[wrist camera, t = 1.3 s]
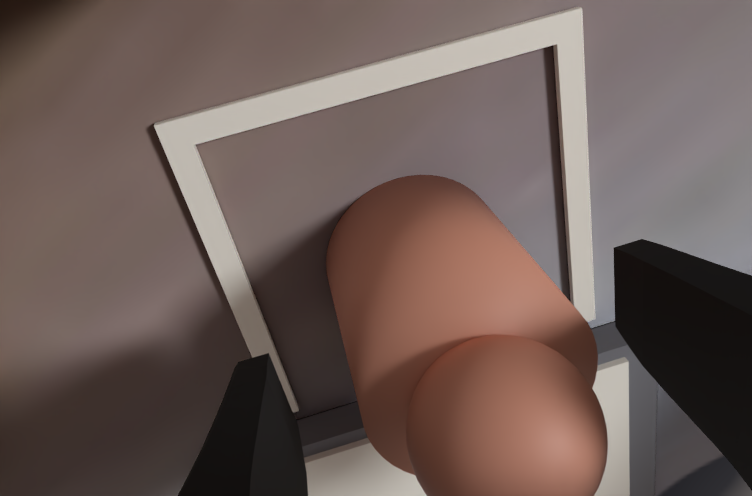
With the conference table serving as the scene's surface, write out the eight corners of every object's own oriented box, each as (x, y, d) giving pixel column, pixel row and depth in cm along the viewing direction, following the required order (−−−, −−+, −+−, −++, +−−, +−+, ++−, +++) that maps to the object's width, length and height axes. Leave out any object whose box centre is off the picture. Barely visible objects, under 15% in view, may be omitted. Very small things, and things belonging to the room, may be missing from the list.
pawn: (485, 153, 14) (699, 352, 8) (506, 302, 16) (684, 557, 10) (304, 204, 14) (361, 459, 7) (350, 349, 16) (424, 645, 9)
